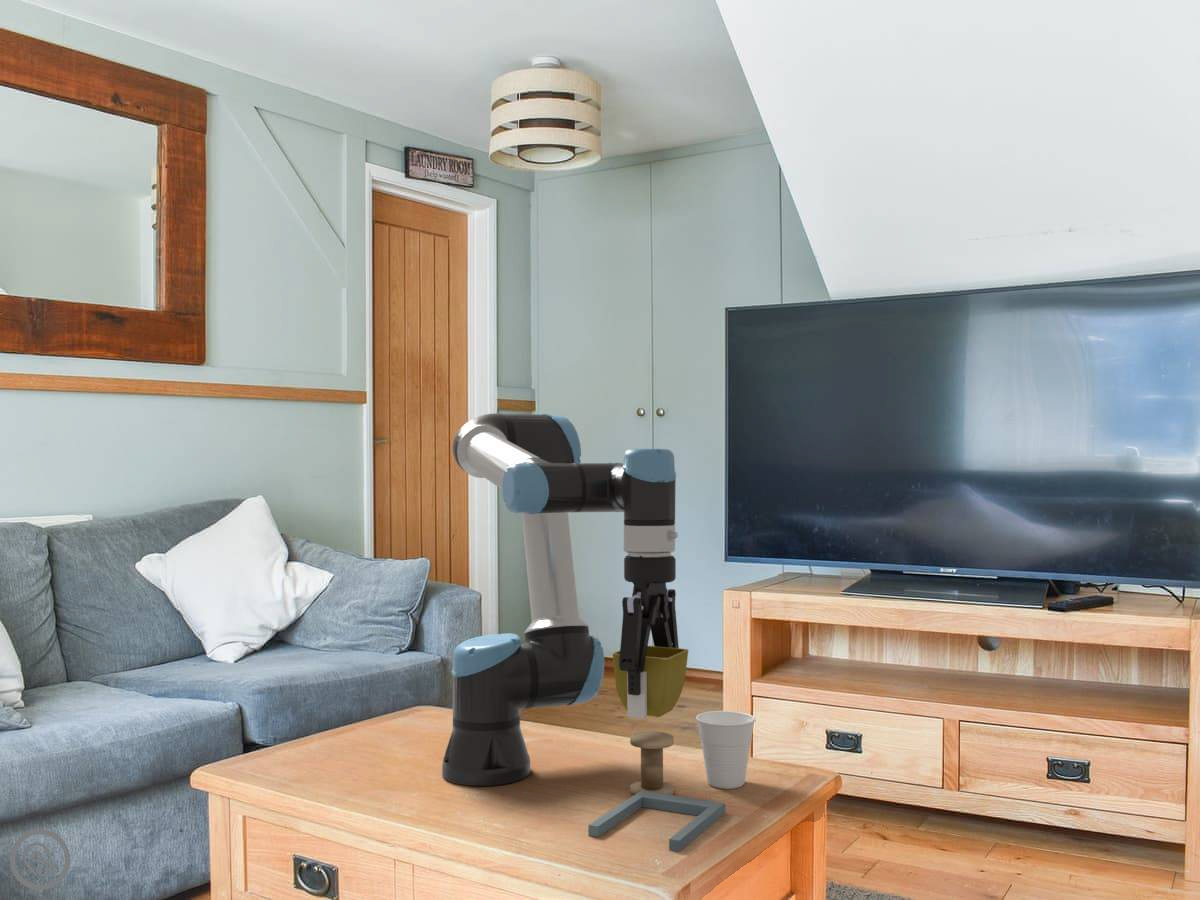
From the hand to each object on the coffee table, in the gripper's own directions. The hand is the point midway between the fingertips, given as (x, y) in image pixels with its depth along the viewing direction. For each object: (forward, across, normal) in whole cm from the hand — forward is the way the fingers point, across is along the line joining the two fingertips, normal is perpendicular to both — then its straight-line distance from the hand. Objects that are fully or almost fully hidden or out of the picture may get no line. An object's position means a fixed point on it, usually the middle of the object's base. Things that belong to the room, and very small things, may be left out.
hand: (650, 710), depth 147 cm
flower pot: (+1, 0, 0) cm, 1 cm away
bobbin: (+17, +16, +7) cm, 24 cm away
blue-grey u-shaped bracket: (+17, +3, 0) cm, 17 cm away
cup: (+17, +26, -2) cm, 31 cm away
